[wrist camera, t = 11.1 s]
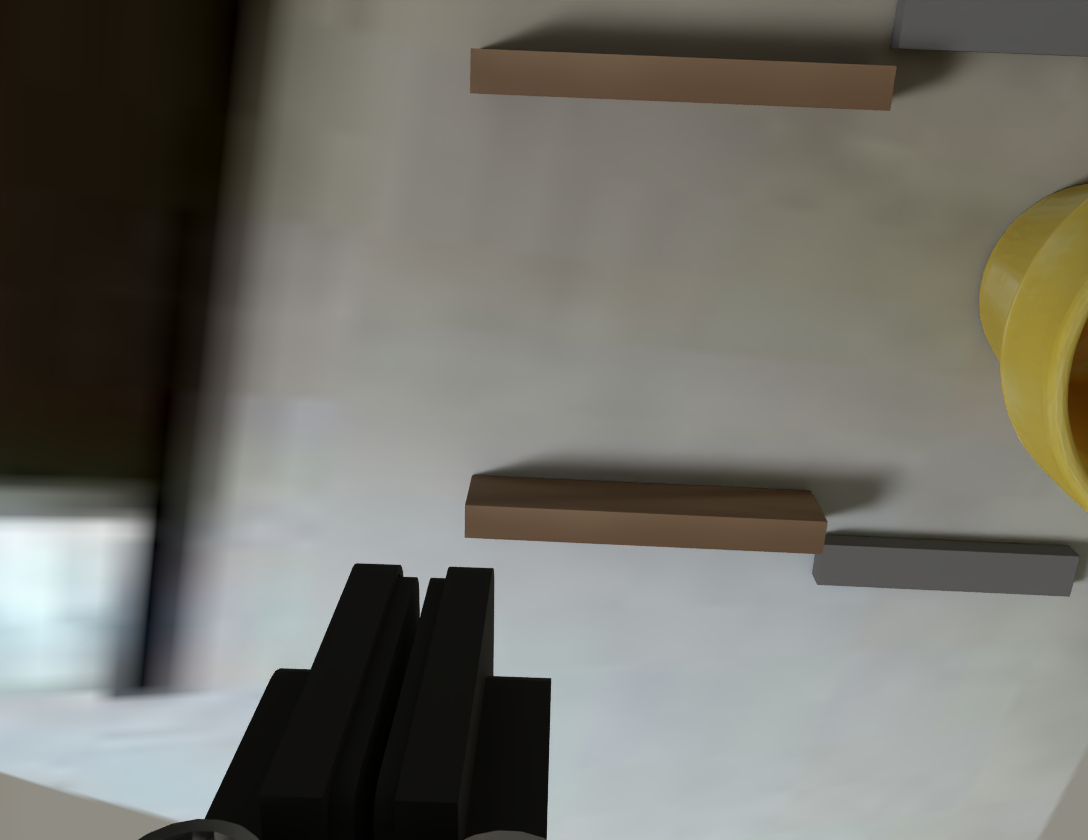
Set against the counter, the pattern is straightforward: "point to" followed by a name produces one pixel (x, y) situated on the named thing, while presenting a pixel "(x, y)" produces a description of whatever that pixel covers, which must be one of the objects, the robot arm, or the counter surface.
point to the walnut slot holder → (645, 506)
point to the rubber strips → (972, 26)
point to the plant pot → (1044, 333)
